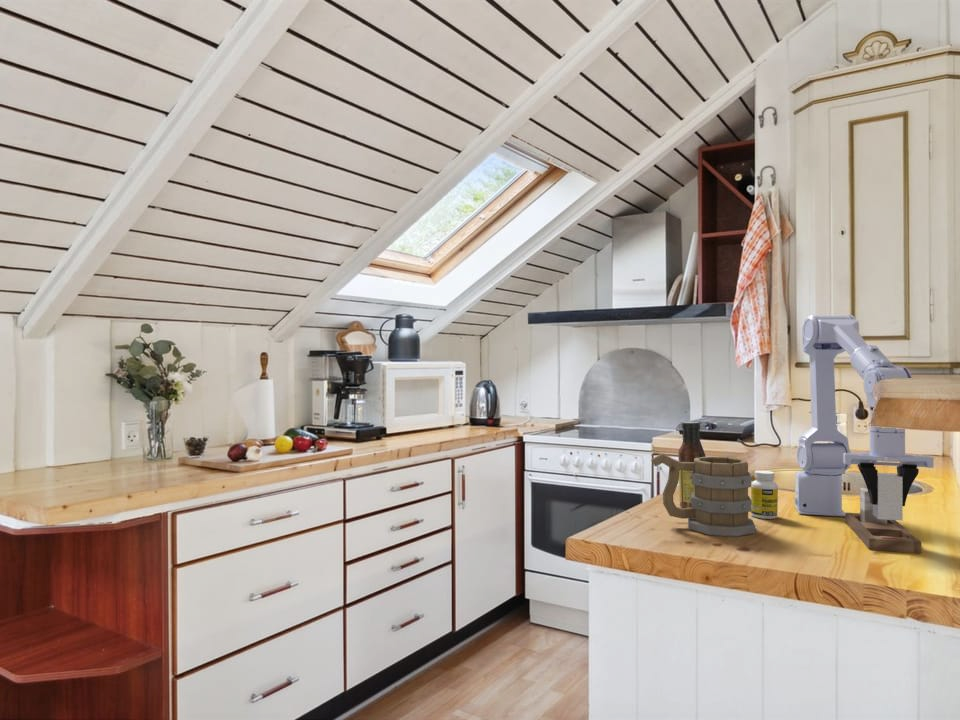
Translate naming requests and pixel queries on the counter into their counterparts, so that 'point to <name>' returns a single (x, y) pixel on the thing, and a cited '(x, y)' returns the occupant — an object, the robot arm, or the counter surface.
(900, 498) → the block
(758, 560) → the counter surface
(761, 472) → the supplement bottle
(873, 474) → the robot arm
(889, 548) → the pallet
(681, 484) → the sauce bottle
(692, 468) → the tankard
